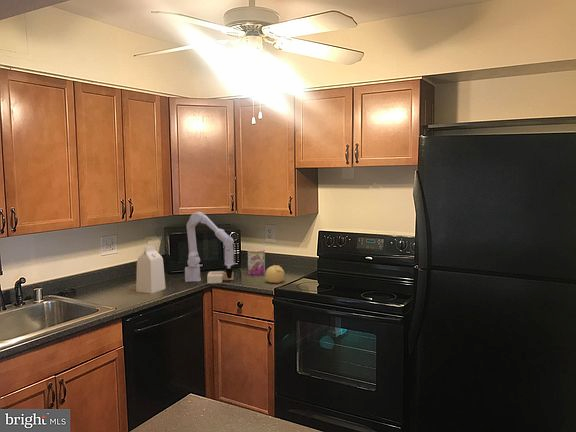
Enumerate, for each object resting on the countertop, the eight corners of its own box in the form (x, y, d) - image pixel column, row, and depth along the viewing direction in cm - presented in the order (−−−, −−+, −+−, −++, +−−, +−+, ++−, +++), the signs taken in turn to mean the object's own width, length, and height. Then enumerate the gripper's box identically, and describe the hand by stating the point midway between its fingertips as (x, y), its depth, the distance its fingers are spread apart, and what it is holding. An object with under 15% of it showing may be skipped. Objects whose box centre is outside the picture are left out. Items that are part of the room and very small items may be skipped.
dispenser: (207, 283, 290) (207, 276, 290) (209, 278, 304) (208, 271, 303) (223, 283, 291) (222, 275, 290) (223, 278, 305) (223, 271, 304)
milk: (150, 286, 283) (148, 244, 281) (165, 288, 278) (164, 245, 276) (136, 291, 272) (134, 247, 270) (151, 293, 267) (149, 248, 265)
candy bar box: (247, 275, 313) (247, 251, 311) (248, 273, 318) (248, 249, 316) (264, 275, 312) (263, 251, 310) (265, 273, 317) (264, 249, 315)
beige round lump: (285, 283, 287) (285, 266, 286) (266, 284, 285) (265, 267, 284) (283, 279, 298) (283, 263, 297) (264, 280, 297) (264, 263, 296)
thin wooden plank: (211, 280, 297) (211, 272, 296) (211, 280, 297) (211, 272, 297) (233, 279, 298) (233, 272, 297) (233, 279, 299) (233, 271, 298)
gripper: (235, 258, 290) (235, 279, 291) (235, 254, 304) (236, 274, 306) (223, 258, 289) (224, 280, 290) (224, 254, 304) (225, 275, 305)
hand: (229, 277), depth 298 cm, fingers open, 4 cm apart
